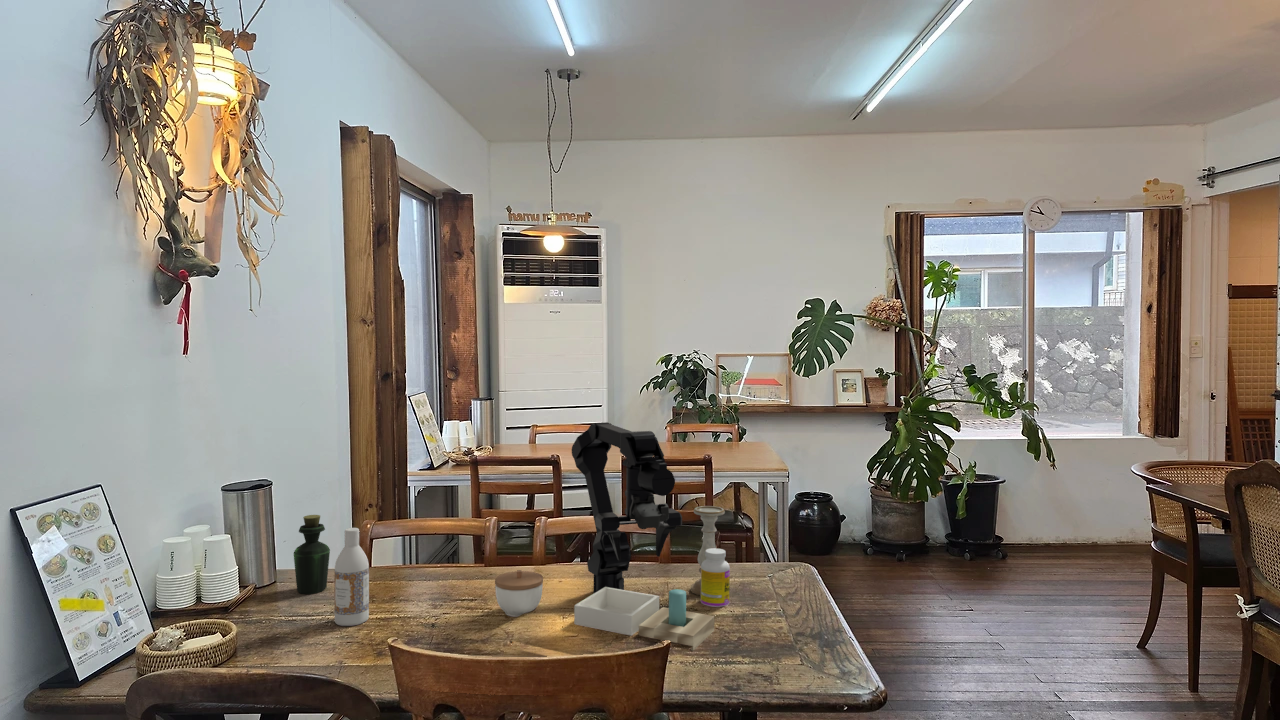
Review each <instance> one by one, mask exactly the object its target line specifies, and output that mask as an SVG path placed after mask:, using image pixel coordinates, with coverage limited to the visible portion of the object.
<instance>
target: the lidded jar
mask: <svg viewBox="0 0 1280 720" xmlns="http://www.w3.org/2000/svg"><path fill="white" fill-rule="evenodd" d="M543 583H544V576H543V575H542V574H541V573H538V572H535V571H527V570H520V569H518V570H516V571H508V572H505V573H501V574H499V575H498V576H496V577H495V578H494V584H495V587H494V589H495V597H496V602H497V604H498V606H499V608H500V609H501V610H502V611H503V612H504V613H505V615H506V616H508V617H513V618H518V617H520V616H522V615H524V614H527V613H531V612H532V611H534V610H536V608H538V606H539V604H540V602H541V599H542V597H543V596H542V595H543Z"/></svg>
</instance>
